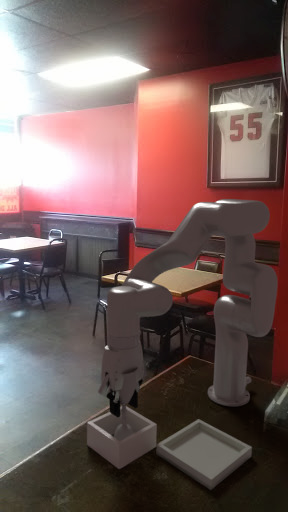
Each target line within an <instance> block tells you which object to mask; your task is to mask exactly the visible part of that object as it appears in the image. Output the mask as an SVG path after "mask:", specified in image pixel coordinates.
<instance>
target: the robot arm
mask: <svg viewBox="0 0 288 512" xmlns="http://www.w3.org/2000/svg"><path fill="white" fill-rule="evenodd" d="M270 217H271V216H270V210H269V207H268V206H267V205H266V204H265V203H264V201H261V200H253V199H237V198H236V199H235V198H222V199H219V200H217V201H215V202H213V201H201V202H197V203H195V204H193V205H192V207H191V208H190V209H189V210H188V212H187V213H186V215H185V216H184V217H183V219H182V221H181V222H180V223H179V225H178V226H177V228H176V229H175V230H174V232H173V233H172V234H171V236H170V237H169V239H168V240H167V241H166V242H165V243H163V244H162V245H160V246H158V247H157V248H155V249H154V250H153V251H151V252H150V253H148V254H147V255H144V257H142V258H141V259H140V260H138V262H137V263H136V264H134V266H133V268H132V269H130V272H129V273H128V275H127V276H126V277H125V279H124V281H123V283H122V284H121V285H120V286H119V285H118V286H114V287H112V288H110V289H109V290H108V292H107V295H106V306H107V307H106V309H107V310H106V314H107V315H106V316H107V321H106V322H107V331H106V332H107V344H106V346H104V349H103V353H102V362H101V371H100V372H101V374H100V375H101V377H100V379H101V381H100V382H101V385H100V387H99V388H98V390H97V391H98V392H97V393H98V394H99V395H101V396H103V397H105V398H107V399H109V412H110V413H111V414H113V415H114V416H116V417H120V407H121V404H120V401H118V399H119V390H120V389H122V386H123V380H124V377H123V375H122V374H128V373H132V372H134V371H136V369H137V368H138V369H137V371H136V387H135V390H134V393H133V395H132V397H131V399H130V401H129V403H127V405H129V406H130V407H132V408H134V409H137V408H138V407H139V392H140V390H141V385H142V384H143V381H144V380H145V378H146V377H147V375H148V372H147V371H146V369H145V368H144V354H143V353H144V352H143V346H142V342H141V341H140V335H142V329H140V325H141V324H140V321H141V320H140V319H141V318H145V317H146V318H148V317H157V316H158V317H159V316H162V315H164V314H166V313H167V312H168V311H170V309H171V307H173V302H174V301H173V300H174V299H173V294H172V292H171V290H169V289H168V288H167V287H166V286H164V285H161V284H158V283H156V282H154V281H155V279H156V278H158V277H159V276H160V275H162V274H164V273H166V272H168V271H171V270H174V269H178V268H181V267H186V266H189V265H192V264H193V263H194V262H195V261H196V260H197V259H198V257H199V255H200V253H201V252H202V251H203V249H204V247H205V246H206V245H207V243H208V242H209V240H210V239H211V237H213V236H214V237H215V236H216V237H222V238H224V243H225V249H224V250H225V251H224V261H223V269H222V283H223V286H224V287H225V288H226V289H227V290H229V291H232V292H235V293H238V294H242V295H245V296H250V299H248V298H246V297H242V296H239V295H233V294H225V295H221V297H219V298H218V299H217V300H216V301H215V303H214V307H213V319H214V324H215V325H214V326H215V345H214V346H215V347H214V348H215V349H214V365H213V366H214V369H213V385H211V386H209V387H208V389H207V395H208V398H209V399H210V400H211V401H213V402H214V403H216V404H218V405H222V406H225V407H233V408H234V407H241V406H244V405H246V404H248V403H249V401H250V400H251V398H250V392H249V391H248V390H247V389H246V388H247V385H248V384H250V383H251V382H252V378H251V376H247V367H248V350H249V341H248V336H247V335H249V336H253V337H255V338H256V337H257V338H262V337H265V336H266V335H268V334H269V332H270V331H271V329H272V327H273V322H274V317H275V308H276V300H277V293H278V284H279V283H278V276H277V273H276V271H275V269H274V268H273V267H272V266H270V265H268V264H264V263H260V262H256V261H255V258H256V246H257V245H256V240H255V239H256V238H255V237H254V234H258V233H260V232H262V231H263V230H265V228H266V227H267V226H268V224H269V222H270ZM113 391H115V393H114V392H113Z"/></svg>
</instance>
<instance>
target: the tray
mask: <svg viewBox="0 0 288 512" xmlns="http://www.w3.org/2000/svg"><path fill="white" fill-rule="evenodd" d="M252 450H253V447H252V446H251V445H250V444H247V443H245V442H243V441H241V440H239V439H237V438H236V437H234V436H233V435H230V434H228V433H226V432H224V431H222V430H220V429H219V428H216V427H215V426H212V425H211V424H209V423H206V422H205V421H203V420H201V419H199V418H198V419H196V420H195V421H193V422H191V423H190V424H188V425H187V426H185V427H183V428H182V429H180V430H179V431H177V432H175V433H173V434H172V435H170V436H168V437H167V438H165V439H163V440H162V441H160V442H158V443H156V454H155V455H157V456H158V457H160V458H161V459H163V460H165V461H166V462H168V463H170V464H171V465H173V467H175V468H177V469H178V470H179V471H181V472H183V473H184V474H186V475H187V476H188V477H190V478H192V479H193V480H194V481H196V482H198V483H200V484H201V485H202V486H204V487H205V488H207V489H209V490H210V491H212V490H213V489H215V487H217V486H218V485H219V484H220V483H221V482H222V481H224V480H225V479H226V478H227V477H228V476H230V475H231V474H232V473H233V472H235V471H236V470H237V469H239V467H241V466H242V465H244V463H246V462H247V461H248V460H249V459H250V458H251V457H252V453H253V451H252Z"/></svg>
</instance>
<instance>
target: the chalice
mask: <svg viewBox="0 0 288 512" xmlns="http://www.w3.org/2000/svg"><path fill="white" fill-rule="evenodd" d="M137 369H138V368H137ZM137 369H136V371H137ZM136 371H134V372H132V373H128V374H122V375H123V377H124V380H123V386H122V389H120V390H119V399H118V401H120V405H121V406H122V409H121V412H122V416H121V417H120V418H121V419H122V424H120V425H119V426H118V427H117V429H116V431H115V433H114V434H113V437H114V438H116V439H117V440H119V441H121V440H123V439H125V438H127V437H129V436H130V435H132V434H134V433H133V430H132V428H131V426H130V425H128V424H126V419H127V416H126V411H127V409H126V406H127V405H128V403H129V401H130V399H131V397H132V395H133V393H134V390H135V387H136ZM114 393H115V391H113V394H114Z"/></svg>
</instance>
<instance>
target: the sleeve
mask: <svg viewBox="0 0 288 512" xmlns="http://www.w3.org/2000/svg"><path fill="white" fill-rule="evenodd" d="M121 409H122V405H120V417H121V416H122V412H121ZM126 409H127V411H126V416H127V419H126V424H128V425H130V426H131V428H132V430H133V433H134V434H132V435H130V436H129V437H127V438H125V439H123V440H121V441H119V440H117V439H116V438H114V433H115V431H116V429H117V427H118V426H119V425H120V424H122V419H121V418H120V417H116V416H114V415H113V414H111V413H110V411H108V412H106V413H105V414H102V415H100V416H98V417H95V418H93V419H91V420H89V421H87V422H86V426H87V427H86V445H87V446H88V447H89V448H91V449H92V450H93V451H95V452H96V453H97V454H99V456H101V457H102V458H104V459H105V460H106V461H108V462H109V463H111V465H113V466H114V467H115V468H117V469H118V470H120V469H122V468H124V467H126V466H127V465H129V464H130V463H132V462H133V461H136V460H137V459H139V458H140V457H142V456H143V455H145V454H147V453H149V452H150V451H151V450H153V449H154V448H155V449H156V448H157V432H158V431H157V427H158V426H157V425H158V424H157V423H155V422H154V421H152V420H151V419H148V417H147V418H146V416H143V415H142V414H140V413H138V412H137V411H135V410H133V409H132V408H130V407H128V406H127V405H126Z"/></svg>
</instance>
